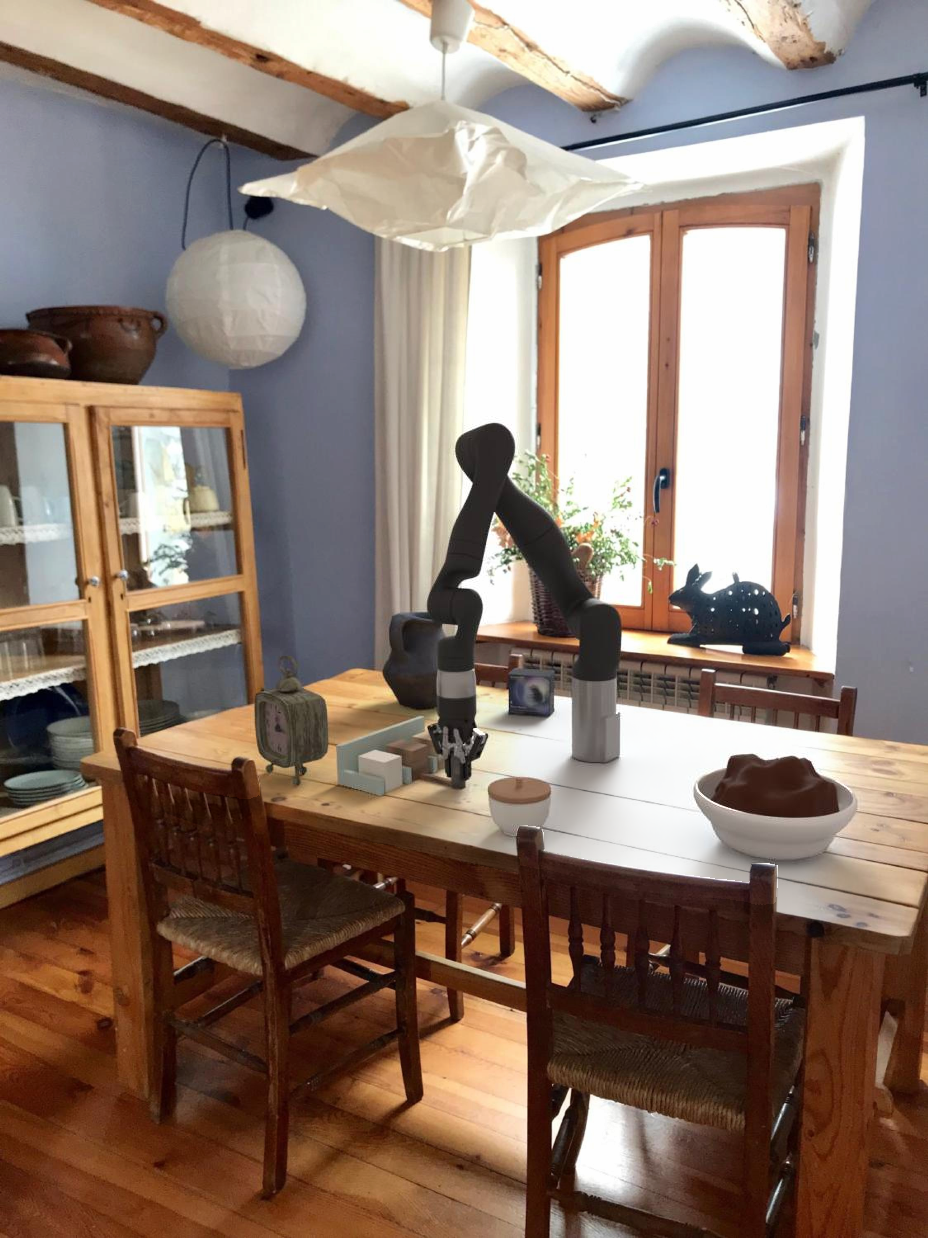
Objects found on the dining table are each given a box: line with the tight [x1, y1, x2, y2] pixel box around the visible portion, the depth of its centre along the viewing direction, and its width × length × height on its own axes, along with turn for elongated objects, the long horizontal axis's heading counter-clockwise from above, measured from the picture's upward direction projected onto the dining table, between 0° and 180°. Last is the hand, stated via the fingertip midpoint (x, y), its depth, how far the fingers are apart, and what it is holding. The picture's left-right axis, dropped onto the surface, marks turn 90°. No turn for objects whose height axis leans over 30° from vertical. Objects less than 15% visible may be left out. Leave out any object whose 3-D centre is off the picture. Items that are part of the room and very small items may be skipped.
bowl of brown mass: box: [692, 753, 858, 861], centre depth 154 cm, size 25×25×15 cm
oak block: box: [412, 730, 445, 771], centre depth 199 cm, size 7×5×6 cm
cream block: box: [358, 750, 403, 793], centre depth 187 cm, size 7×5×6 cm
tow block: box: [386, 739, 467, 790], centre depth 190 cm, size 18×5×6 cm, turn 52°
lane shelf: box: [335, 715, 460, 797], centre depth 194 cm, size 11×25×8 cm, turn 142°
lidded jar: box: [487, 776, 552, 838], centre depth 163 cm, size 11×11×9 cm
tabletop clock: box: [253, 654, 329, 786], centre depth 191 cm, size 14×9×25 cm, turn 40°
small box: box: [507, 667, 555, 718], centre depth 236 cm, size 11×6×10 cm, turn 73°
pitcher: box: [381, 611, 447, 711], centre depth 243 cm, size 21×22×25 cm
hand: (458, 778), depth 185 cm, fingers closed on tow block, 3 cm apart
